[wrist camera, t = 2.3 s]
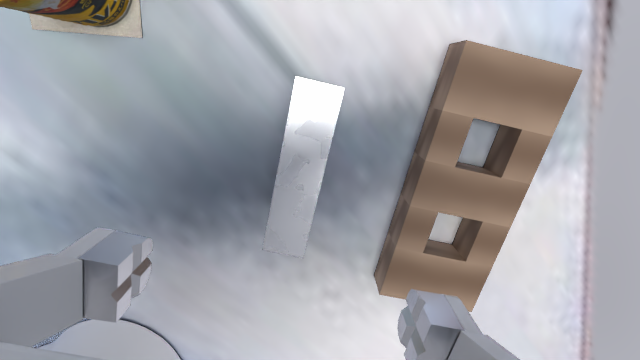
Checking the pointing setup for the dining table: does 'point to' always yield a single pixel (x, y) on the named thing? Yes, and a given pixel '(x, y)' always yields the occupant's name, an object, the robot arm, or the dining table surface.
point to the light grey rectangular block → (301, 165)
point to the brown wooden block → (471, 169)
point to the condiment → (82, 16)
